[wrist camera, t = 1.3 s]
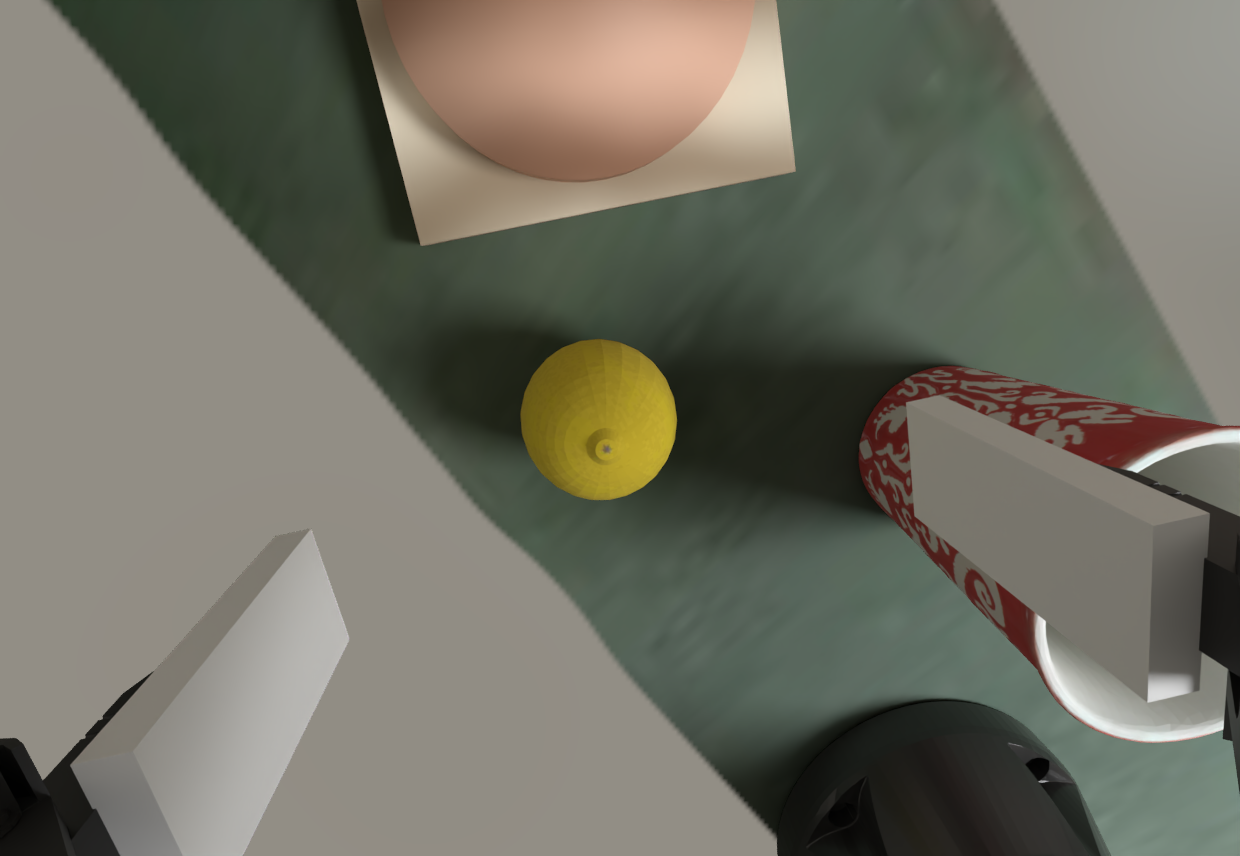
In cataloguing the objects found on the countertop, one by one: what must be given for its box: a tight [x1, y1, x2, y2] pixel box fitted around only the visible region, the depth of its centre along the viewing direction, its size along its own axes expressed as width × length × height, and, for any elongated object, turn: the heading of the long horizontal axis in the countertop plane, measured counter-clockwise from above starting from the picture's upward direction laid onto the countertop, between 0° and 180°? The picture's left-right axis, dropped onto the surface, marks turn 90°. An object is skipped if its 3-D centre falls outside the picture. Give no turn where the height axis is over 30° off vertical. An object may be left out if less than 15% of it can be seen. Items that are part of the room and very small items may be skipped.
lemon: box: [521, 339, 677, 500], centre depth 25 cm, size 6×6×8 cm
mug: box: [859, 366, 1240, 743], centre depth 25 cm, size 13×9×14 cm
